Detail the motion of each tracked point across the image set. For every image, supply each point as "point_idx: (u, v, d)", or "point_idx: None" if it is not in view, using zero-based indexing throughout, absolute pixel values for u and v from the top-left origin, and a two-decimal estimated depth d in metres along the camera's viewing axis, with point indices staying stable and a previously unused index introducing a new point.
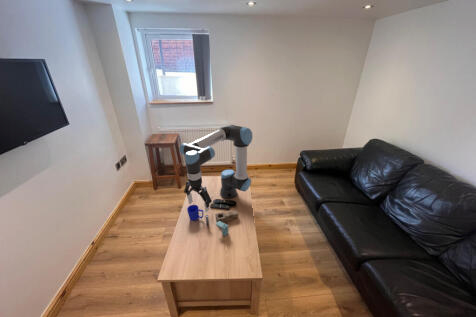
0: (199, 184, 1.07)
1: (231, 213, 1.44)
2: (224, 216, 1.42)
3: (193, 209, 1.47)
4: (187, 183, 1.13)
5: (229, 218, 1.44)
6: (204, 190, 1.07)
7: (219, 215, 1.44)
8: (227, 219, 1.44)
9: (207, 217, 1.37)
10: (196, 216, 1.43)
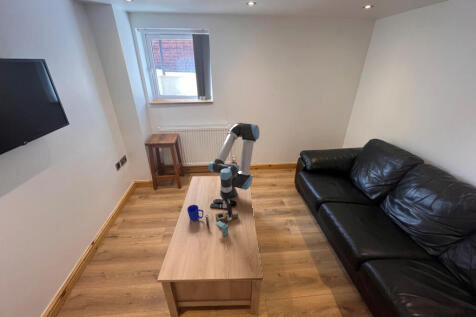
0: (227, 196, 1.32)
1: None
2: (224, 216, 1.42)
3: (193, 209, 1.47)
4: None
5: None
6: (228, 203, 1.30)
7: (219, 215, 1.44)
8: (227, 219, 1.44)
9: (207, 217, 1.37)
10: (196, 216, 1.43)
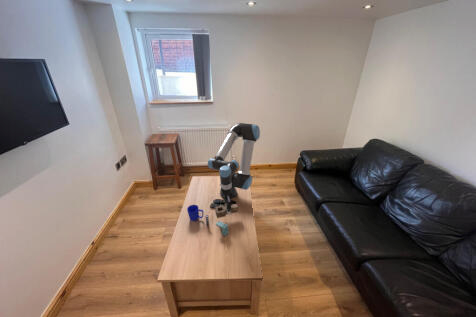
0: (227, 193, 1.31)
1: (231, 206, 1.42)
2: (224, 209, 1.40)
3: (193, 209, 1.47)
4: None
5: None
6: (228, 201, 1.31)
7: (219, 208, 1.42)
8: None
9: (207, 217, 1.37)
10: (196, 216, 1.43)
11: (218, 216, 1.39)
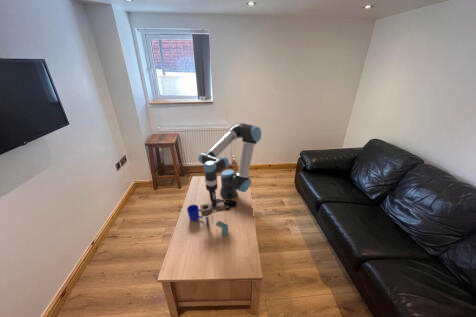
0: (211, 190, 1.25)
1: (217, 204, 1.36)
2: (209, 207, 1.33)
3: (193, 209, 1.47)
4: None
5: None
6: (213, 198, 1.25)
7: (204, 206, 1.36)
8: None
9: (207, 217, 1.37)
10: (196, 216, 1.43)
11: (203, 214, 1.32)
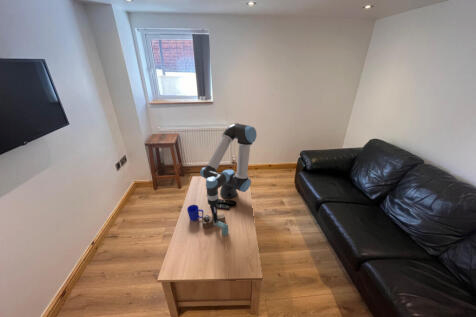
0: (213, 204, 1.30)
1: (218, 217, 1.41)
2: (210, 220, 1.39)
3: (193, 209, 1.47)
4: None
5: None
6: (214, 212, 1.30)
7: (205, 219, 1.41)
8: None
9: (207, 217, 1.37)
10: (196, 216, 1.43)
11: (204, 227, 1.38)
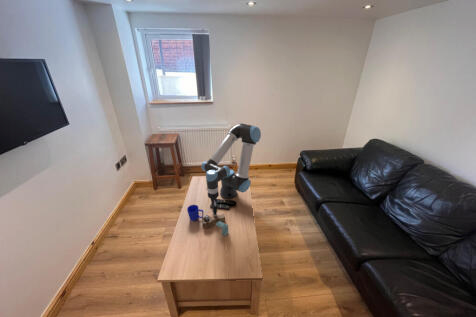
0: (213, 198, 1.31)
1: (218, 217, 1.41)
2: (210, 220, 1.39)
3: (193, 209, 1.47)
4: None
5: (216, 222, 1.41)
6: (214, 206, 1.32)
7: (205, 219, 1.41)
8: (214, 223, 1.41)
9: (207, 217, 1.37)
10: (196, 216, 1.43)
11: (204, 227, 1.38)
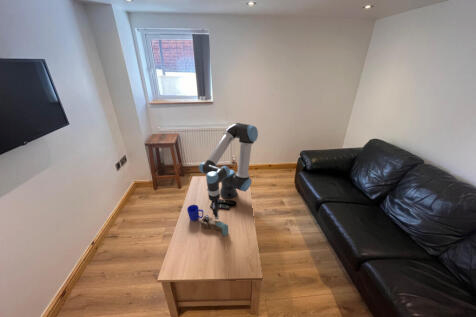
0: (212, 200, 1.27)
1: None
2: (208, 222, 1.37)
3: (193, 209, 1.47)
4: None
5: (213, 227, 1.37)
6: (213, 208, 1.27)
7: None
8: (211, 227, 1.38)
9: (207, 217, 1.37)
10: (196, 216, 1.43)
11: (201, 225, 1.39)
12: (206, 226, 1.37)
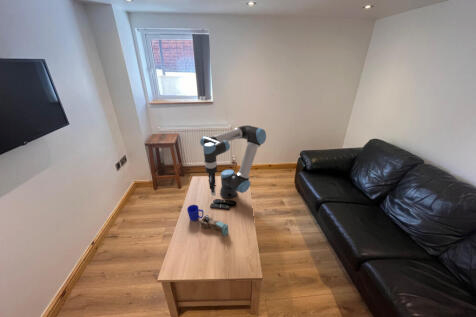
0: (209, 172, 1.24)
1: None
2: (208, 222, 1.37)
3: (193, 209, 1.47)
4: None
5: (213, 227, 1.37)
6: (209, 181, 1.25)
7: None
8: (211, 227, 1.38)
9: (207, 217, 1.37)
10: (196, 216, 1.43)
11: (201, 225, 1.39)
12: (206, 226, 1.37)
